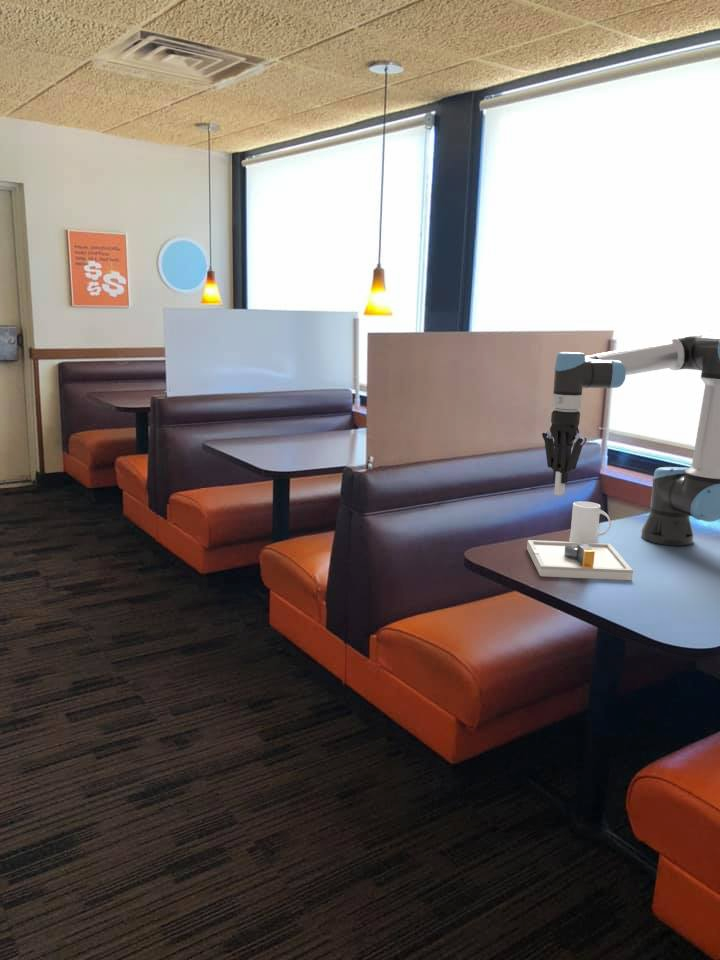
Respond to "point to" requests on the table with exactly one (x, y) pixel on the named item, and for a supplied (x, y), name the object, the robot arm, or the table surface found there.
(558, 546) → the white square tray
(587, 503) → the mug
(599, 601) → the table surface
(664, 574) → the table surface
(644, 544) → the table surface
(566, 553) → the dark grey handled piece
